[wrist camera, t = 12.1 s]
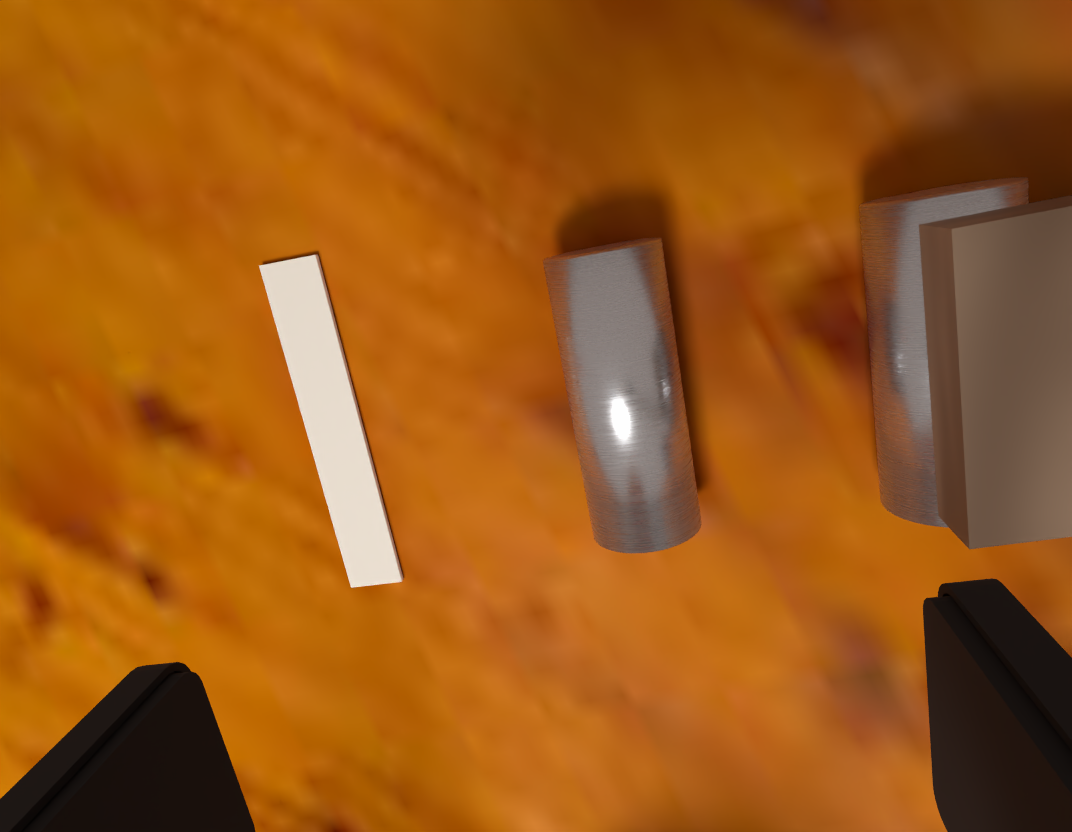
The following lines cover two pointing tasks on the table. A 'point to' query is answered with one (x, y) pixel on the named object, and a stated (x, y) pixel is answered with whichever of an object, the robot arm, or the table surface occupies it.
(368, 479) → the strip
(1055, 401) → the slab
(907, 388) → the roller
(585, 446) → the roller
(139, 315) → the table surface
